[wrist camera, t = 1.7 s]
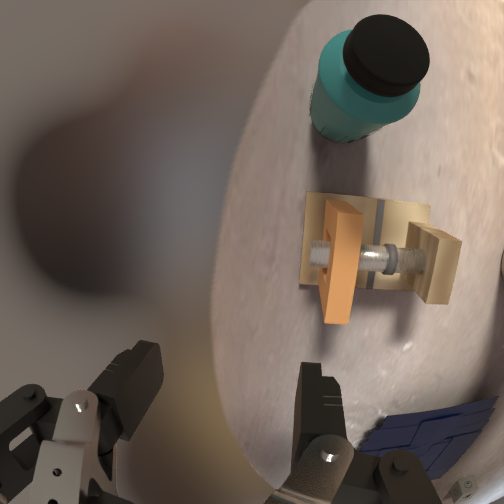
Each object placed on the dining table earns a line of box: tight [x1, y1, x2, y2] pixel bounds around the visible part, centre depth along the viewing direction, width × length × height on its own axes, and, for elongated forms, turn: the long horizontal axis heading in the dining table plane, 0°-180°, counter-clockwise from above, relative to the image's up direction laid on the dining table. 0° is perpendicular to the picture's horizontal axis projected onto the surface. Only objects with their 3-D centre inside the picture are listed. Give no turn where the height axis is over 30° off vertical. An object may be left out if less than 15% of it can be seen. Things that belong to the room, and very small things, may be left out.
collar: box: [318, 199, 364, 324], centre depth 27 cm, size 2×9×9 cm, turn 178°
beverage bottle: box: [309, 14, 430, 144], centre depth 19 cm, size 6×7×20 cm
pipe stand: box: [299, 191, 462, 304], centre depth 28 cm, size 14×10×9 cm
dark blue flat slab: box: [360, 396, 499, 480], centre depth 39 cm, size 24×30×4 cm
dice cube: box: [450, 475, 478, 504], centre depth 41 cm, size 5×5×5 cm
